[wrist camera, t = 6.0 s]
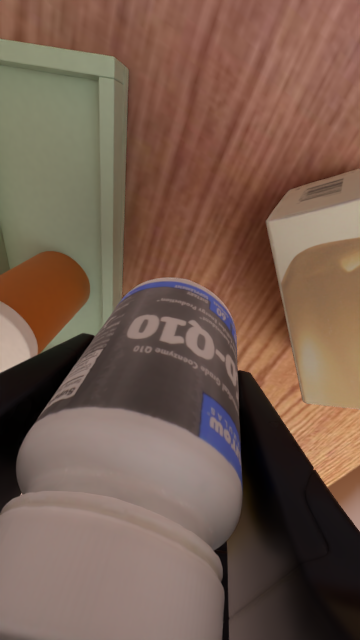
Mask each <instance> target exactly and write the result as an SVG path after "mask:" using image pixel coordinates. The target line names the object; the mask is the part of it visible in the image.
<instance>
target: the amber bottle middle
mask: <svg viewBox="0 0 360 640" xmlns="http://www.w3.org/2000/svg"><path fill="white" fill-rule="evenodd" d="M89 296H90V283H89V280H88V277H87V275H86V273H85V271H84V270H83V269H82V267H81V266H80V265H79V264H78V263H77V262H76V261H75V260H73V259H72V258H70V257H69V256H67V255H65V254H62V253H60V252H55V251H45V252H41V253H39V254H37V255H35V256H34V257H32V258H30V259H28V260H26V261H25V262H23V263H21V264H19V265H17V266H16V267H14V268H12V269H10V270H8V271H7V272H5V273H3V274H1V275H0V373H1V372H3V371H5V370H7V369H9V368H11V367H13V366H15V365H17V364H19V363H21V362H23V361H25V360H28V359H30V358H32V357H34V356H36V355H38V354H40V353H41V352H42V351H43V349H44V348H45V347H46V346H47V345H48V344H49V343H50V342H51V341H52V340H53V339H54V337H55V336H56V335H57V334H58V333H59V332H60V331H61V330H62V329H63V328H64V327H65V325H66V324H67V323H68V322H69V321H70V320H71V319H72V318H73V317H74V316H75V314H76V313H77V312H78V311H79V310H80V309H81V308H82V307H83V306H84V305H85V303H86V302H87V301H88V299H89Z"/></svg>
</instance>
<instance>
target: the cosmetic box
mask: <svg viewBox="0 0 360 640" xmlns="http://www.w3.org/2000/svg"><path fill="white" fill-rule="evenodd" d="M266 226H267V231H268V236H269V240H270V245H271V250H272V254H273V259H274V264H275V268H276V273H277V278H278V283H279V288H280V293H281V298H282V303H283V307H284V312H285V317H286V322H287V327H288V332H289V337H290V342H291V347H292V351H293V356H294V361H295V366H296V370H297V375H298V380H299V385H300V390H301V395H302V400H303V402H305V403H307V404H316V405H324V406H334V407H342V408H353V409H360V168H359V169H356V170H353V171H350V172H346V173H343V174H340V175H337V176H333V177H330V178H327V179H323V180H320V181H316V182H313V183H309V184H306V185H303V186H300V187H297V188H294V189H290V190H289V191H288V192H287V193H286V194H285V195H284V197H283V198H282V199H281V201H280V202H279V203H278V205H277V206H276V207H275V209H274V210H273V211H272V213H271V214H270V216H269V217H268V219H267V220H266Z"/></svg>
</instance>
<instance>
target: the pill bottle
mask: <svg viewBox="0 0 360 640" xmlns="http://www.w3.org/2000/svg"><path fill="white" fill-rule="evenodd" d="M16 475H17V481H18V485H19V488H20V490H21V492H22V494H23V495H21V496H19V497H15V498H13V499H12V500H11V501H9V502H8V503H7V504H6V505H5V506H4V507H3V509H2V511H1V513H0V640H222V635H223V613H224V600H225V596H224V589H223V586H222V584H221V581H222V578H223V568H222V564H221V561H220V559H219V556H218V555H217V554H216V553H215V552H214V550H215V549H217V548H219V547H220V546H221V545H223V544H224V543H225V542H226V541H227V540H228V539H229V537H230V536H231V535H232V533H233V531H234V530H235V528H236V526H237V524H238V522H239V518H240V514H241V508H242V498H243V487H242V464H241V439H240V423H239V388H238V368H237V338H236V330H235V324H234V321H233V318H232V315H231V313H230V312H229V310H228V308H227V307H226V306H225V304H224V303H223V302H222V301H221V300H220V299H219V298H218V297H217V296H216V295H215V294H214V293H212V292H211V291H210V290H208V289H207V288H205V287H203V286H201V285H199V284H197V283H195V282H193V281H190V280H187V279H182V278H170V277H169V278H157V279H153V280H148V281H146V282H143V283H141V284H139V285H137V286H136V287H134V288H133V289H132V290H130V291H129V292H128V293H127V294H126V295H125V296H124V297H123V298H122V300H121V301H120V302H119V304H118V305H117V307H116V308H115V310H114V311H113V312H112V314H111V315H110V317H109V318H108V319H107V321H106V322H105V324H104V325H103V327H102V328H101V329H100V331H99V332H98V333H97V334H96V336H95V337H94V339H93V340H92V342H91V343H90V345H89V346H88V347H87V349H86V350H85V351H84V353H83V354H82V356H81V357H80V359H79V360H78V361H77V363H76V364H75V365H74V367H73V368H72V370H71V371H70V373H69V374H68V376H67V377H66V378H65V380H64V381H63V383H62V384H61V386H60V387H59V388H58V390H57V391H56V393H55V394H54V396H53V397H52V399H51V400H50V401H49V403H48V404H47V406H46V407H45V408H44V410H43V411H42V413H41V414H40V416H39V417H38V419H37V420H36V422H35V423H34V425H33V426H32V427H31V429H30V430H29V432H28V433H27V435H26V437H25V438H24V440H23V442H22V445H21V447H20V449H19V452H18V456H17V461H16Z"/></svg>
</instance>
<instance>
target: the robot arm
mask: <svg viewBox="0 0 360 640" xmlns="http://www.w3.org/2000/svg"><path fill="white" fill-rule="evenodd" d="M94 337H95V336H94V335H91V334H87V333H81V334H79V335H77V336H75V337H73V338H71V339H69V340H67V341H65V342H62V343H60V344H58V345H56V346H54V347H52V348H50V349H48V350H46V351H44V352H42V353H40V354H38V355H36V356H34V357H32V358H30V359H28V360H25V361H23V362H21V363H19V364H17V365H15V366H13V367H11V368H9V369H7V370H5V371H3V372H1V373H0V513H1V511H2V509H3V507H4V506H5V505H6V504H7V503H8V502H9V501H11V500H12V499H13V498H15V497H19V496H20V495H21V493H22V492H21V490H20V488H19V485H18V481H17V475H16V461H17V456H18V452H19V449H20V447H21V445H22V442H23V440H24V438H25V437H26V435H27V433H28V432H29V430H30V429H31V427H32V426H33V425H34V423H35V422H36V420H37V419H38V417H39V416H40V414H41V413H42V411H43V410H44V408H45V407H46V406H47V404H48V403H49V401H50V400H51V399H52V397H53V396H54V394H55V393H56V391H57V390H58V388H59V387H60V386H61V384H62V383H63V381H64V380H65V378H66V377H67V376H68V374H69V373H70V371H71V370H72V368H73V367H74V365H75V364H76V363H77V361H78V360H79V359H80V357H81V356H82V354H83V353H84V351H85V350H86V349H87V347H88V346H89V345H90V343H91V342H92V340H93V339H94ZM238 388H239V423H240V439H241V464H242V487H243V498H242V508H241V514H240V518H239V522H238V524H237V526H236V528H235V530H234V531H233V533H232V535H231V536H230V537H229V539H228V540H227V541H226V542H225V543H224V544H223V545H221V546H220V547H219V548H217V549H215V550H214V552H215V553H216V554H217V555H218V556H219V559H220V561H221V564H222V568H223V578H222V581H221V584H222V586H223V589H224V596H225V600H224V613H223V635H222V640H360V531H359V530H358V529H357V528H356V526H355V525H354V524H353V522H352V521H351V520H350V518H349V517H348V516H347V514H346V513H345V512H344V510H343V509H342V508H341V506H340V505H339V504H338V502H337V501H336V499H335V498H334V496H333V495H332V494H331V492H330V491H329V489H328V488H327V486H326V485H325V484H324V482H323V481H322V479H321V478H320V476H319V475H318V473H317V472H316V470H313V469H314V468H313V466H312V464H311V463H310V461H309V460H308V458H307V457H306V455H305V454H304V452H303V451H302V449H301V448H300V446H299V445H298V443H297V442H296V440H295V439H294V437H293V436H292V434H291V433H290V431H289V430H288V428H287V427H286V425H285V424H284V422H283V421H282V419H281V418H280V416H279V415H278V413H277V412H276V410H275V409H274V407H273V406H272V404H271V403H270V401H269V400H268V398H267V397H266V396H265V394H264V393H263V391H262V390H261V388H260V387H259V385H258V384H257V382H256V381H255V379H254V378H253V376H252V375H251V374H250V373H249V372H245V371H241V370H239V371H238Z"/></svg>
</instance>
